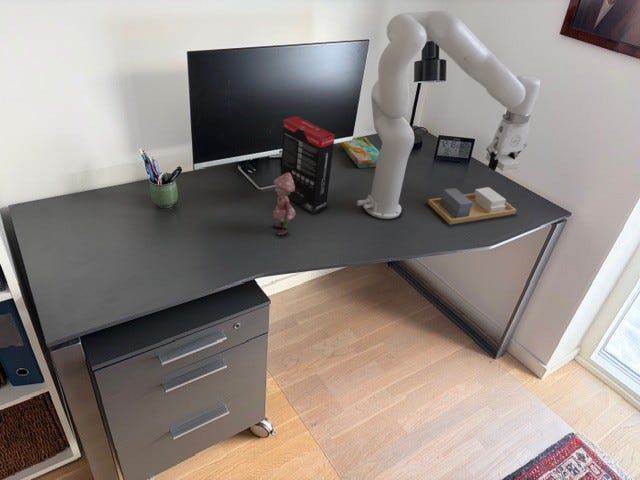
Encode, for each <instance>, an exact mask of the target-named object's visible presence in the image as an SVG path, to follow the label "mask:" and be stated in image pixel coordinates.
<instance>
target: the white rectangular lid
mask: <svg viewBox="0 0 640 480" xmlns="http://www.w3.org/2000/svg"><path fill="white" fill-rule="evenodd" d="M497 152H498V151H496V152H495V154H497ZM490 158H491V156H490V154H489V153H488V152H486V155H485V158H484V159H485V160H486V161H488V162H489V161H490ZM519 165H520V162H519V161H517V160H516V159H515V160H514V159H513V158H511V157H510V156H508V153H501V154H500V156H499V157H498V163H497V166H496V168H497V169H499V170H500V171H502V172H504V171H512V170H518V168H519Z"/></svg>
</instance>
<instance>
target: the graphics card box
mask: <svg viewBox="0 0 640 480" xmlns="http://www.w3.org/2000/svg"><path fill="white" fill-rule="evenodd" d="M282 126H283V127H282V146H281V147H282V148H281V168H280V176H282V175H283V174H286V173H290V174H291V176H292V178H293V181H294V185H295V190H294V191H293V192H291V193H290V194H289V195H287V197H288V198H289V200H291V201H293V203H295V204H297V205H299V206H301V207H302V208H303V209H305V210H307V211H309V212H310V213H312V214H316V213H318V212H320V211H322V210H325V209H326V208H327V205H328V195H329V187H330V180H331V171H332V164H333V163H332V162H333V153H334V145H335V138H336V137H335V136H336V134H334V133H333V132H330V131H329V130H326V129H325V128H322V127H321V126H319V125H316V124H314V123H312V122H310V121H309V120H306V119H304V118H301V117H300V116H295V115H294V116H291V117H287V118H284V119H283V125H282Z"/></svg>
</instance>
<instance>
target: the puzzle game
mask: <svg viewBox="0 0 640 480" xmlns="http://www.w3.org/2000/svg"><path fill="white" fill-rule="evenodd" d="M352 138H353V139H352V140H351V141H348V142H344V143H340V142H339V144H340V145H341V146H342V149H343V151H344V152H345V153H346V154H347V156H348V157H349V158H350V159H351V160H352V162H353V163H354V164H355V165H356V167H357V168H358V169H365V168H366V169H367V168H376V163H377V158H378V154H379V152H380V150H379V149H378V148H376V146H374V144H373V143H371V141H370V140H369V139H367V137H352Z"/></svg>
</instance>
